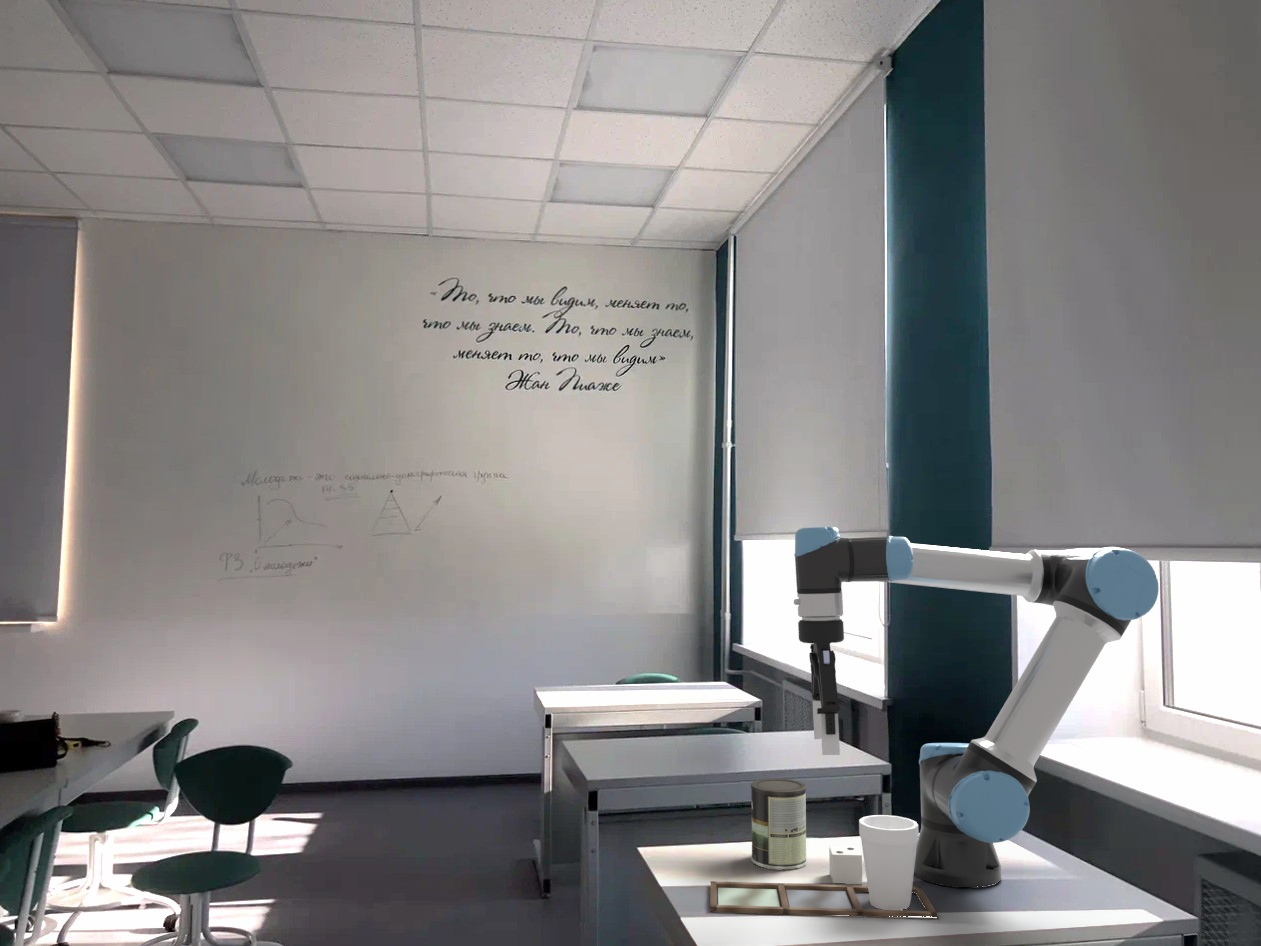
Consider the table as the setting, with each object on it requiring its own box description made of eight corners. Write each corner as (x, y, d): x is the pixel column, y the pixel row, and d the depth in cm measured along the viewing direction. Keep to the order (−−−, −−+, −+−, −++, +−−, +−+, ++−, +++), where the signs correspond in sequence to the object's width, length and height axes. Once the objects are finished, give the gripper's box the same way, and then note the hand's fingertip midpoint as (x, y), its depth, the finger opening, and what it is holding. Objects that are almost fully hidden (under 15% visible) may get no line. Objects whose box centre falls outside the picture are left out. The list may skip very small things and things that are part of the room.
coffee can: (742, 864, 182) (741, 786, 183) (764, 850, 190) (763, 776, 192) (795, 874, 176) (794, 793, 178) (815, 859, 185) (814, 782, 186)
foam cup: (856, 909, 159) (855, 826, 160) (863, 891, 167) (862, 813, 168) (918, 917, 155) (916, 832, 156) (921, 898, 164) (920, 818, 165)
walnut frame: (920, 892, 167) (920, 887, 167) (937, 919, 155) (937, 913, 155) (710, 886, 170) (710, 881, 170) (710, 912, 157) (710, 906, 157)
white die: (858, 875, 176) (857, 846, 176) (862, 885, 171) (861, 854, 171) (829, 874, 176) (829, 845, 177) (833, 884, 171) (832, 854, 172)
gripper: (792, 614, 179) (798, 733, 178) (804, 624, 155) (810, 762, 153) (834, 613, 179) (840, 732, 177) (852, 622, 154) (859, 761, 152)
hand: (826, 746), depth 165 cm, fingers open, 13 cm apart
